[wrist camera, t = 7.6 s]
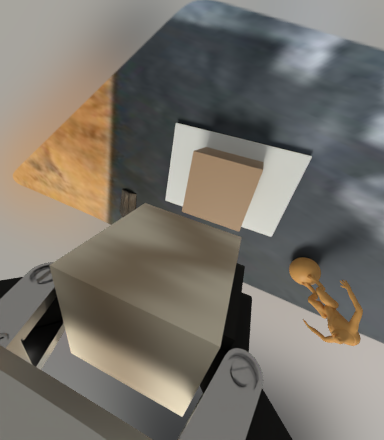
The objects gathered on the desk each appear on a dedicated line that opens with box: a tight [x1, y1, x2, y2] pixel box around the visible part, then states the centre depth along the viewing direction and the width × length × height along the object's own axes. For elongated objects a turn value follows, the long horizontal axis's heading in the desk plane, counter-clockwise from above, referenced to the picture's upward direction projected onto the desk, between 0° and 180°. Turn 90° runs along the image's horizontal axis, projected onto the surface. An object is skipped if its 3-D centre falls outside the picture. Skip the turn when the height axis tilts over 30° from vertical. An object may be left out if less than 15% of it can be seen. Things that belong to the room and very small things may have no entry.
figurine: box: [289, 257, 363, 346], centre depth 24 cm, size 8×6×12 cm
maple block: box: [49, 203, 241, 416], centre depth 9 cm, size 5×5×5 cm
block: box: [120, 189, 136, 217], centre depth 36 cm, size 4×6×2 cm, turn 168°
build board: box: [165, 123, 312, 237], centre depth 25 cm, size 18×12×6 cm, turn 78°
